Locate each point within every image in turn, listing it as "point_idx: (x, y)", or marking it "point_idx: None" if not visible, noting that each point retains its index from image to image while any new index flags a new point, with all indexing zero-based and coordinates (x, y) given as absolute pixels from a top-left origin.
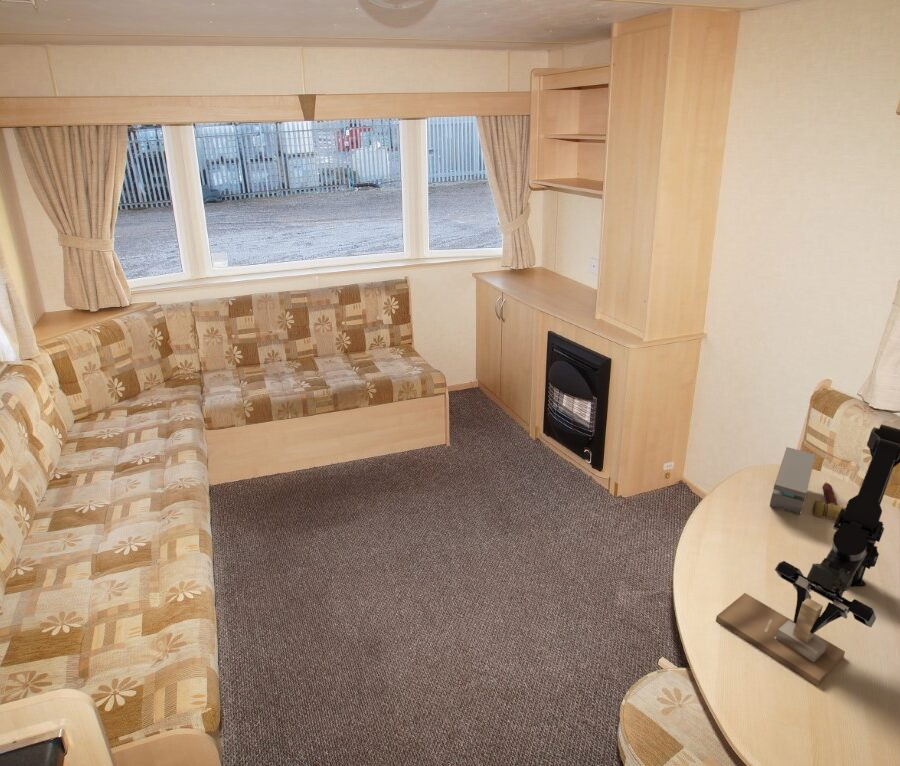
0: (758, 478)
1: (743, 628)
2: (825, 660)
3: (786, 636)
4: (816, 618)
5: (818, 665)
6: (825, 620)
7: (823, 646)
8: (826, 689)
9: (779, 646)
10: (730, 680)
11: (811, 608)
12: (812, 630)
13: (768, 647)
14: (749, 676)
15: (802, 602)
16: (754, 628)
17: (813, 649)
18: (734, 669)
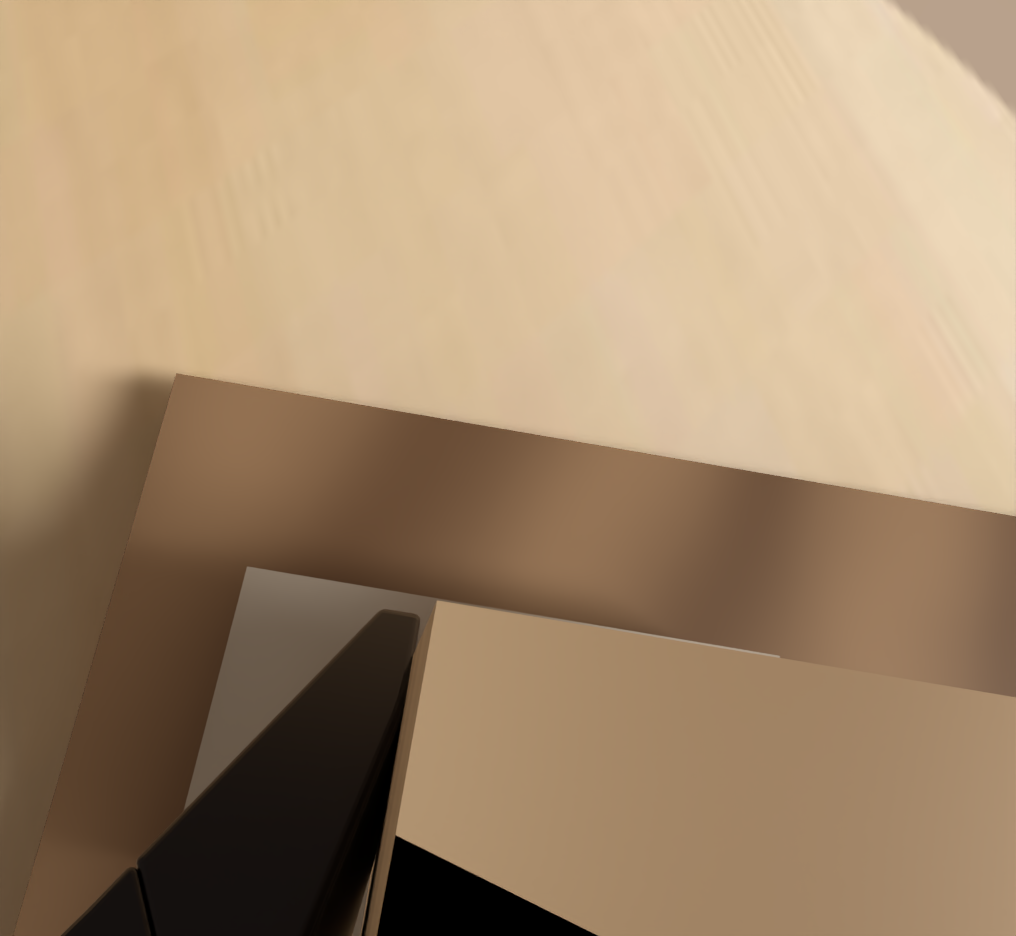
0: None
1: (982, 562)
2: (169, 735)
3: (651, 635)
4: (387, 816)
5: (224, 589)
6: (84, 932)
7: (194, 789)
8: (115, 421)
9: (634, 572)
10: (736, 57)
11: (764, 656)
12: (384, 627)
13: (704, 472)
14: (662, 162)
15: None
16: (919, 649)
17: (303, 607)
18: (766, 160)
